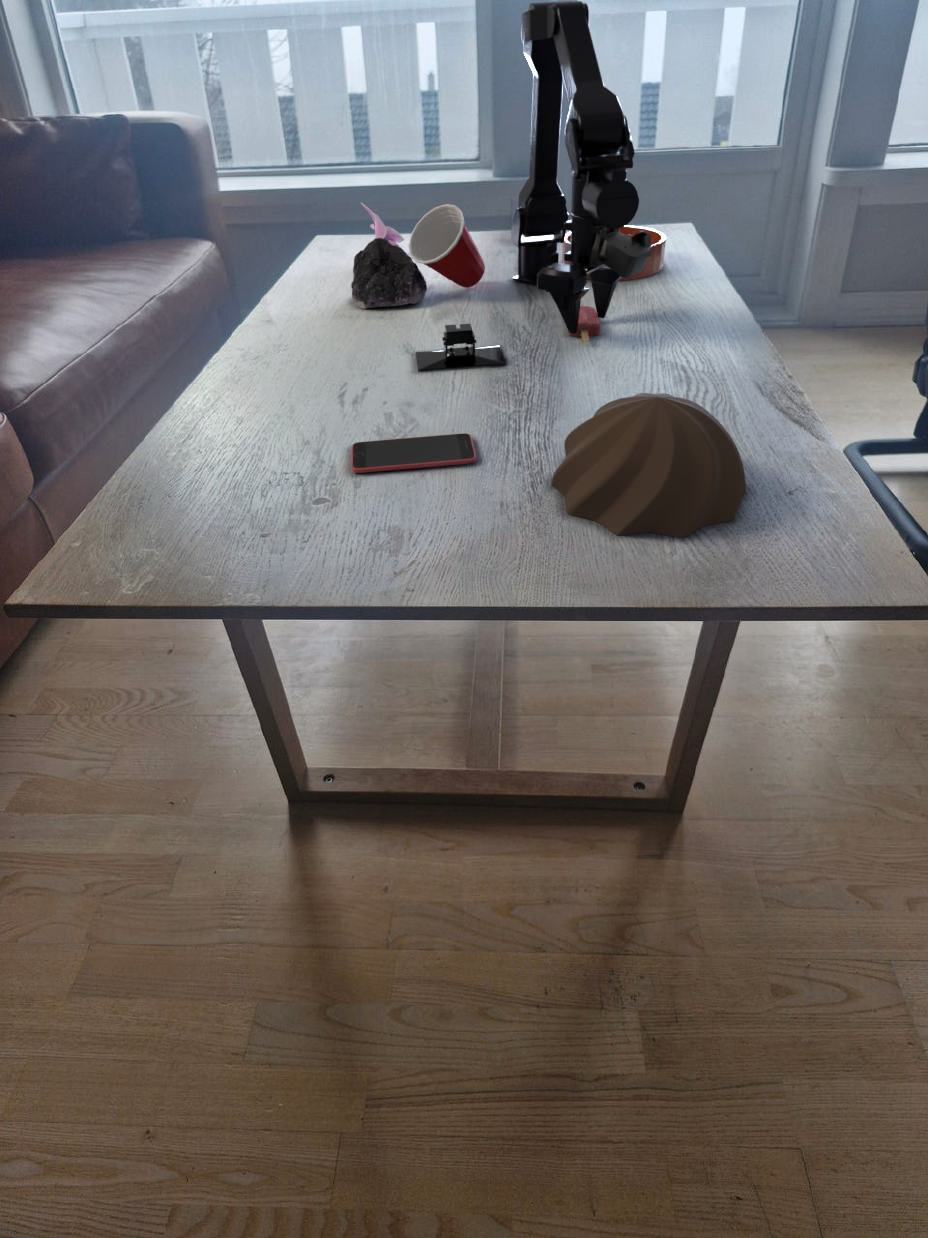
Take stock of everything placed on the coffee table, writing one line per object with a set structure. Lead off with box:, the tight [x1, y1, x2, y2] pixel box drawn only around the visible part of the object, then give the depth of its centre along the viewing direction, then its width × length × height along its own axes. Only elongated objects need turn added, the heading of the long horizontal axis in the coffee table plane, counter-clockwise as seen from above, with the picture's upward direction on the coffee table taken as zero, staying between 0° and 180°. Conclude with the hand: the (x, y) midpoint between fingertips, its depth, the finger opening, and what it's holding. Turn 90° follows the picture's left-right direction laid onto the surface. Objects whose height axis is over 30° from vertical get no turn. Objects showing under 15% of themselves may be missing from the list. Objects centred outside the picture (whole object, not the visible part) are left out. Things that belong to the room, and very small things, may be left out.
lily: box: [360, 202, 405, 248], centre depth 156 cm, size 12×12×10 cm
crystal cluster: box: [350, 237, 428, 310], centre depth 135 cm, size 13×14×10 cm
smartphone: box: [350, 432, 477, 474], centre depth 90 cm, size 7×1×14 cm
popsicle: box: [568, 305, 601, 343], centre depth 120 cm, size 4×2×15 cm
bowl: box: [561, 225, 667, 282], centre depth 146 cm, size 18×18×5 cm
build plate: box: [415, 322, 507, 373], centre depth 112 cm, size 12×7×5 cm, turn 95°
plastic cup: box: [408, 203, 486, 289], centre depth 135 cm, size 11×11×12 cm
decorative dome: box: [551, 392, 747, 538], centre depth 80 cm, size 19×20×10 cm
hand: (587, 325), depth 121 cm, fingers closed on popsicle, 8 cm apart
